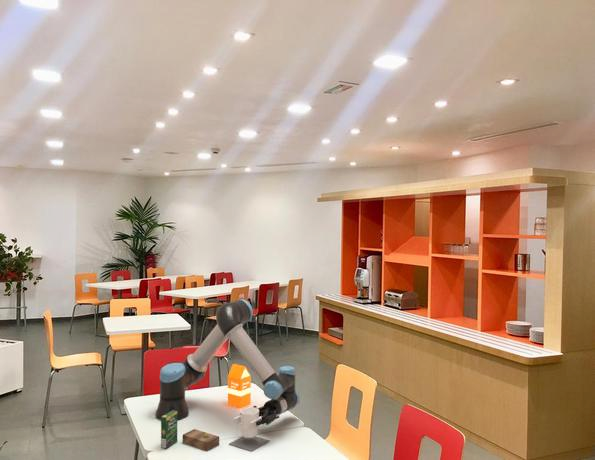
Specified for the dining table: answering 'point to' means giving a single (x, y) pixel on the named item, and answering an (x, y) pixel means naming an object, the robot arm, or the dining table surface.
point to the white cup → (246, 418)
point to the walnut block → (201, 440)
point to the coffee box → (169, 429)
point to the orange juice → (239, 386)
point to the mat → (249, 443)
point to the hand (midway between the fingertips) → (242, 423)
